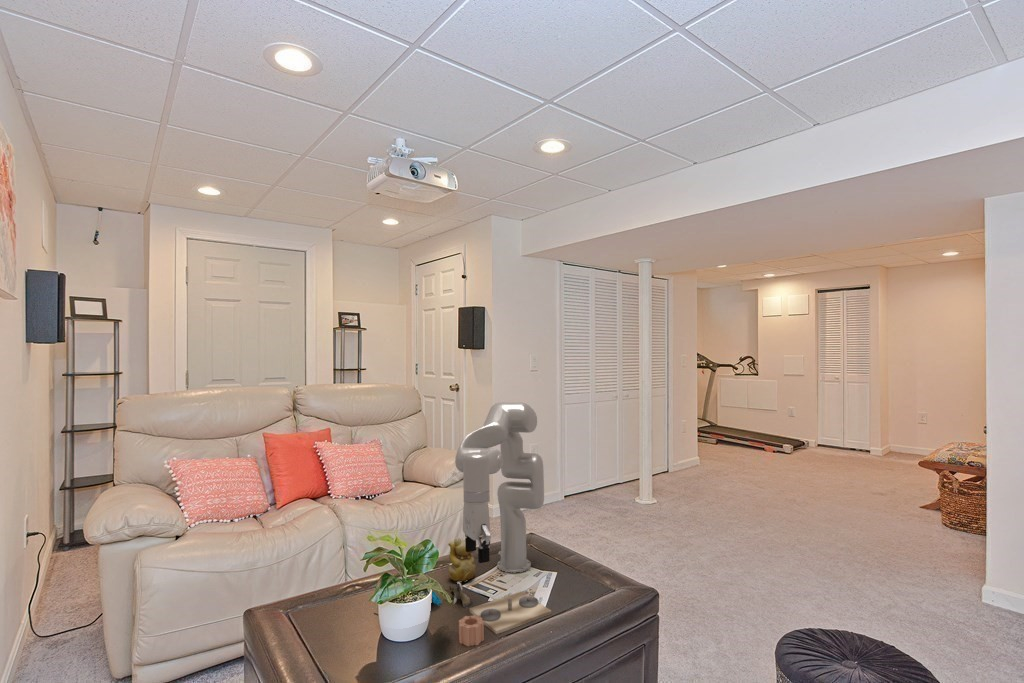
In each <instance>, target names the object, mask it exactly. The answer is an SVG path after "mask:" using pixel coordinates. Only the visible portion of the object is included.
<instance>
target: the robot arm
mask: <svg viewBox="0 0 1024 683" xmlns="http://www.w3.org/2000/svg"><path fill="white" fill-rule="evenodd" d="M537 416H538V415H537V413H536V412H535V410H534V408H532V406H531V405H529V404H527V403H525V402H510V401H509V402H506V401H504V402H503V401H502V402H497V403H494V404H492V406H491V407H490V408H489V410H488V413H487V415H486V418H485V420H484V422H483V425H482V426H481V427H479V428H476V429H475V430H474V431H471V432H470V433H468V434H467V435H466V436H464V438H463V439H462V440H461V442H460V444H459V446H458V449H457V451H456V453H455V460H454V462H455V463H454V464H455V467H456V469H457V471H458V472H461V473H463V474H462V475H463V476H462V478H463V480H462V481H463V483H462V484H463V486H462V487H463V489H462V490H463V509H462V532H463V533H464V537H465V539H464V541H465V548H466V552H471V551H472V552H475V551H477V553H478V554H477V560H478V561H477V562H478V563H479V564H483V563H489V562H490V561H491V560H490V548H491V539H492V535H491V532H490V531H491V528H490V527H491V525H490V524H491V523H490V508H489V503H490V500H491V499H490V496H491V495H490V475H493V474H496V473H498V472H499V471H500V470H501V475H502V476H503V477H504V478H507V479H516V480H517V479H518V480H529V481H528V482H527V481H505V482H502V483H500V484H499V486H498V487H497V491H496V492H497V493H496V494H497V501H498V506H499V515H500V517H499V519H500V520H499V521H500V522H499V523H500V550H499V551H498V553H497V554H498V555H499V556H500V560H498V562H497V563H496V567H497V569H498V568H499V569H500V570H499V569H498V570H499V571H501V570H502V571H501V572H503V571H505V572H504V573H507V572H511V573H510V574H517V573H516V572H520V573H523V572H522V571H524V572H525V570H526V571H528V570H530V568H531V567H532V566H531V565H532V564H531V561H530V560H529V559H528V558H527V531H526V530H527V529H526V528H527V525H526V524H527V521H526V516H525V514H524V513H523V511H522V510H521V509H527V510H538V509H540V508H542V507H543V505H544V502H545V480H544V478H545V476H544V475H545V474H544V461H543V458H542V456H541V455H540V454H538V453H536V452H535V453H532V452H524V440H523V437H522V435H521V434H520V433H528V434H529V433H533V432H535V430H536V428H537V427H538V426H537V425H538V417H537ZM499 445H500V450H499V449H497V448H492V447H497V446H499ZM477 543H478V548H477ZM472 552H471V553H472ZM527 569H528V570H527ZM512 572H513V573H512Z"/></svg>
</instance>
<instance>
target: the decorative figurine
mask: <svg viewBox="0 0 1024 683" xmlns="http://www.w3.org/2000/svg"><path fill="white" fill-rule="evenodd" d="M447 546H449V548H450V550H449V561H450V563H451V564H450V565H449V567H448V573H449V574H448V576H449V579H451V580H452V581H454V582H455V581H456V582H459V581H466V580H469V581H470V580H471V579H473V577H474V576H475V572H476V564H475V561H476V560H475V557H474V556H473V555H472V552H473V551H471V552H466V548H465V539H464V540H462V539H461V538H460V537H459V536H455V538H454V540H453V541H450V542H448V544H447ZM456 582H455V583H456Z"/></svg>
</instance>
